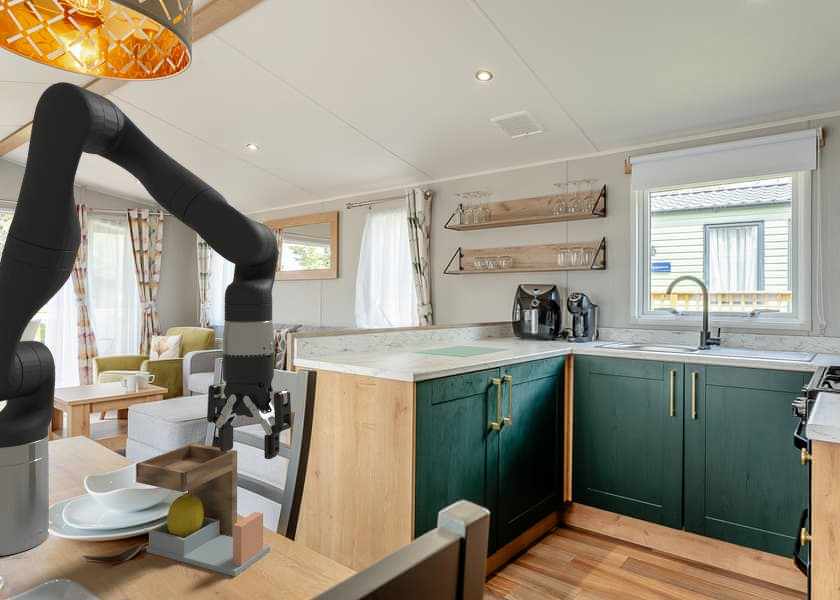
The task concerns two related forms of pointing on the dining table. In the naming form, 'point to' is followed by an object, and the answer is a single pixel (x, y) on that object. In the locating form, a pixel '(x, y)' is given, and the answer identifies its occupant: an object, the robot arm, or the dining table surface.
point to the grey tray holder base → (214, 545)
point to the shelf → (198, 479)
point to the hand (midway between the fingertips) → (248, 453)
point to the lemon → (185, 515)
